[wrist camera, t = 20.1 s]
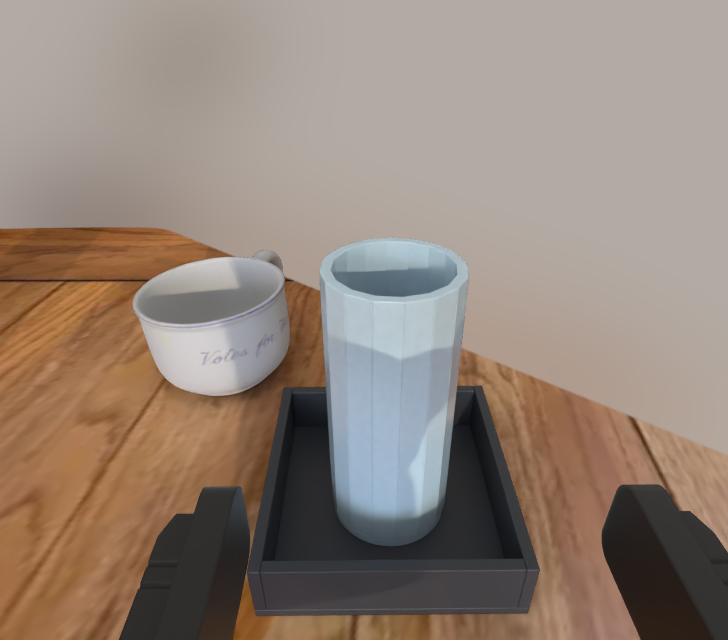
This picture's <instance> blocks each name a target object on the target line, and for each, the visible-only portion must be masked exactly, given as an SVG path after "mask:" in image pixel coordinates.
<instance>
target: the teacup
mask: <svg viewBox="0 0 728 640" xmlns="http://www.w3.org/2000/svg"><path fill="white" fill-rule="evenodd" d="M284 285H285V279H284V275H283V266H282V262H281V259H280V257H279V256H278V255H277V254H276V253H275V252H273V251H268V250H261V251H259V252H257V253H255V254H254V255H253V257H252V258H248V257H221V258H211V259H205V260H202V261H196V262H192V263H188V264H185V265H182V266H179V267H176V268H173V269H171V270H168V271H166V272H164V273H162V274H160V275H158V276H156V277H154V278H153V279H151V280H150V281H148V282H147V283H146V284H145V285H144V286H142V287H141V288H140V290H139V291H138V292H137V293H136V295H135V297H134V299H133V309H134V311H135V313H136V315H137V316H138V317H139V320H140V323H141V326H142V329H143V332H144V335H145V338H146V341H147V343H148V346H149V349H150V352H151V354H152V357H153V359H154V361H155V363H156V365H157V367H158V369H159V371H160V372H161V374H162V375H163V376H164V377H165V378H166V379H167V380H168V381H169V382H170V383H171V384H173V385H175V386H176V387H178V388H180V389H183V390H186V391H189V392H193V393H199V394H203V395H209V396H225V395H232V394H236V393H239V392H242V391H245V390H247V389H250V388H252V387H253V386H255V385H257V384H258V383H260V382H261V381H262V380H264V379H265V378H266V377H267V376H268V375H269V374H271V373H272V372H273V371H274V370H275V369H276V368H277V367H278V366H279V364H280V363H281V362H282V360H283V359H284V357H285V355H286V353H287V350H288V347H289V340H290V327H289V317H288V309H287V302H286V296H285V290H284Z"/></svg>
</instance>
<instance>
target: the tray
mask: <svg viewBox="0 0 728 640" xmlns="http://www.w3.org/2000/svg"><path fill="white" fill-rule="evenodd" d="M539 571H540V569H539V566H538V563H537V559H536V556H535V553H534V550H533V547H532V544H531V540H530V537H529V534H528V531H527V528H526V525H525V521H524V518H523V515H522V512H521V509H520V505H519V502H518V499H517V496H516V493H515V490H514V486H513V483H512V480H511V477H510V474H509V470H508V467H507V464H506V461H505V458H504V455H503V451H502V448H501V445H500V442H499V439H498V436H497V432H496V429H495V426H494V423H493V420H492V416H491V413H490V410H489V407H488V404H487V401H486V397H485V394H484V391H483V388H482V386H457V392H456V401H455V411H454V420H453V429H452V438H451V448H450V457H449V466H448V475H447V485H446V494H445V503H444V506H443V511H442V515H441V517H440V520H439V521H438V523H437V525H436V526H435V527H434V528H433V530H432V531H430V532H429V533H428V534H427V535H426V536H424V537H423V538H421V539H419V540H417V541H415V542H413V543H410V544H406V545H402V546H392V547H391V546H379V545H374V544H371V543H368V542H365V541H363V540H361V539H359V538H357V537H355V536H354V535H353V534H351V533H350V532H349V531H348V530H347V529H346V528H345V527H344V526H343V524H342V523H341V522H340V520H339V518H338V517H337V514H336V511H335V507H334V499H333V496H332V480H331V463H330V447H329V430H328V413H327V396H326V387H297V388H284V389H283V394H282V399H281V404H280V409H279V414H278V419H277V424H276V429H275V434H274V439H273V444H272V449H271V454H270V459H269V464H268V469H267V474H266V479H265V484H264V489H263V494H262V499H261V504H260V509H259V514H258V519H257V524H256V529H255V534H254V539H253V544H252V549H251V554H250V559H249V564H248V569H247V576H248V580H249V585H250V590H251V595H252V599H253V604H254V609H255V614H256V616H278V615H384V614H490V613H528V611H529V607H530V603H531V600H532V596H533V592H534V589H535V585H536V582H537V578H538V574H539Z"/></svg>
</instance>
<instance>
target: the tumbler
mask: <svg viewBox="0 0 728 640" xmlns="http://www.w3.org/2000/svg"><path fill="white" fill-rule="evenodd" d="M319 276H320V294H321V311H322V328H323V345H324V362H325V379H326V396H327V413H328V430H329V447H330V463H331V480H332V496H333V499H334V507H335V511H336V514H337V517H338V518H339V520H340V522H341V523H342V524H343V526H344V527H345V528H346V529H347V530H348V531H349V532H350V533H351V534H353V535H354V536H355V537H357V538H359V539H361V540H363V541H365V542H368V543H371V544H374V545H379V546H391V547H392V546H402V545H406V544H410V543H413V542H415V541H417V540H419V539H421V538H423V537H424V536H426V535H427V534H428V533H429V532H430V531H432V530H433V528H434V527H435V526H436V525H437V523H438V521H439V520H440V517H441V515H442V511H443V506H444V503H445V494H446V485H447V475H448V466H449V457H450V448H451V438H452V429H453V420H454V411H455V401H456V392H457V383H458V374H459V364H460V355H461V345H462V337H463V327H464V318H465V308H466V298H467V290H468V281H469V272H468V265H467V263H466V262H465V261H464V260H463V259H462V258H461V257H460V256H459V255H458V254H456V252H454V251H452V250H449V249H447V248H445V247H442V246H440V245H438V244H434V243H431V242H425V241H420V240H415V239H407V238H378V239H370V240H362V241H358V242H355V243H352V244H348V245H345V246H342V247H340V248H338V249H336V250H334V251H333V252H332V253H330V254H329V255H327V256H326V257H325V258H324V260H323V262H322V264H321V267H320V269H319Z"/></svg>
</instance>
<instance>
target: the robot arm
mask: <svg viewBox="0 0 728 640" xmlns="http://www.w3.org/2000/svg"><path fill="white" fill-rule="evenodd" d="M602 547H603V552H604V556H605V559H606V561H607V564H608V566H609V568H610V570H611V573H612V575H613V577H614V580H615V582H616V584H617V586H618V589H619V591H620V593H621V595H622V598H623V600H624V602H625V605H626V607H627V609H628V611H629V614H630V616H631V618H632V621H633V623H634V625H635V627H636V630H637V632H638V634H639V637H640V639H641V640H728V553H727V551H726V550H725V548H724V547H723V545H722V544H721V542H720V541H719V539H718V538H717V536H716V535H715V533H714V532H713V531H712V530H711V529H709V528H708V527H707V526H706V525H705V524H704V523H703V522H701V521H700V520H699V519H698V518H697V517H696V516H695V515H694V514H692V513H691V512H690V511H679V510H678V508H677V507H676V505H675V504H674V502H673V500H672V499H671V497H670V496H669V494H668V493H667V491H666V490H665V489H664V488H663V487H662V486H660V485H656V484H655V485H621V486H619V488H618V489H617V491H616V494H615V497H614V500H613V502H612V505H611V508H610V510H609V513H608V516H607V519H606V521H605V524H604V527H603V530H602ZM249 551H250V531H249V526H248V520H247V515H246V510H245V504H244V499H243V494H242V489H241V487H239V486H231V487H204V488H203V489H202V491H201V493H200V496H199V499H198V502H197V505H196V508H195V512H194V514H176V515H175V516H174V517H173V519H172V520H171V521H170V522H169V523H168V525H167V526H166V527H165V528H164V529H163V531H162V532H161V533H160V534H159V536H158V537H157V540H156V543H155V545H154V548H153V551H152V553H151V556H150V559H149V561H148V562H149V564H148V567H146V569H145V572H144V575H143V577H142V580H141V583H140V584H141V585H140V588H139V589H138V591H137V593H136V596H135V599H134V601H133V604H132V607H131V609H130V612H129V615H128V617H127V620H126V622H125V625H124V628H123V630H122V633H121V636H120V638H119V640H233V635H234V630H235V625H236V620H237V615H238V610H239V605H240V600H241V595H242V590H243V585H244V580H245V575H246V570H247V565H248V559H249Z"/></svg>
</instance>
